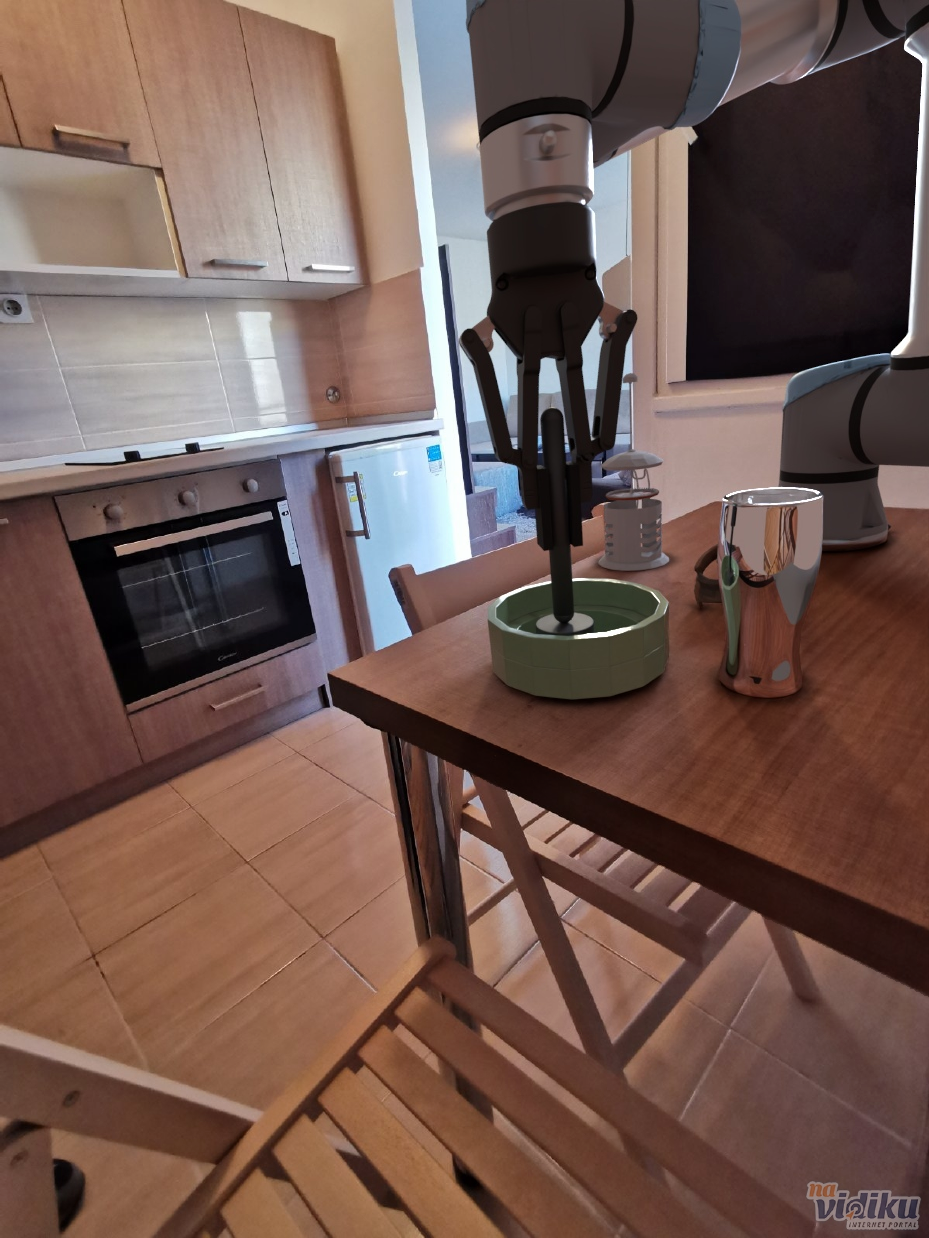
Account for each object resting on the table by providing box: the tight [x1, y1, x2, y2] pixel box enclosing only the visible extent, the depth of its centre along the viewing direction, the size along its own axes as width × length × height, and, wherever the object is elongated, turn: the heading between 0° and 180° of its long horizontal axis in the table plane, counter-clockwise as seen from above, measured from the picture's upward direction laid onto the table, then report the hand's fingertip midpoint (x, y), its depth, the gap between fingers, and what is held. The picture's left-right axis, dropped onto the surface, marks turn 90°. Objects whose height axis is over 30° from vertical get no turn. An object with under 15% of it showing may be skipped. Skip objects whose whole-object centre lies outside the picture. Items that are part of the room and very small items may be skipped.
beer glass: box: [716, 487, 824, 699], centre depth 45 cm, size 7×7×15 cm
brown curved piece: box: [693, 543, 722, 609], centre depth 64 cm, size 12×9×8 cm
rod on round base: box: [536, 406, 594, 636], centre depth 49 cm, size 5×5×20 cm
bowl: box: [487, 577, 670, 700], centre depth 53 cm, size 16×16×6 cm
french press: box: [597, 372, 670, 572], centre depth 81 cm, size 10×12×25 cm
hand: (559, 544), depth 49 cm, fingers closed on rod on round base, 2 cm apart
